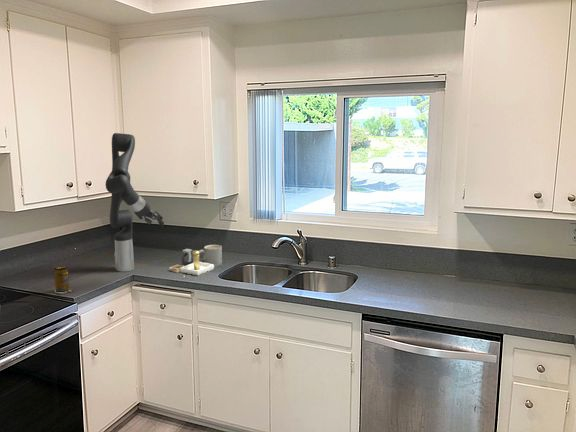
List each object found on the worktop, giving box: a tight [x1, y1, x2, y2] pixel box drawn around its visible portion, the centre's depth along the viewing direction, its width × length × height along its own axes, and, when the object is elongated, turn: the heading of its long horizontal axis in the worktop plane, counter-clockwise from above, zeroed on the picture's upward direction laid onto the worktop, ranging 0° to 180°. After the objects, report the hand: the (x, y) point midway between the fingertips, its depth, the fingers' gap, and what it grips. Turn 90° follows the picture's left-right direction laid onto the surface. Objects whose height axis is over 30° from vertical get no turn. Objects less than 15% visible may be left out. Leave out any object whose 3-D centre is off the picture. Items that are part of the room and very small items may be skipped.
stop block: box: [169, 264, 184, 273], centre depth 254 cm, size 6×6×2 cm
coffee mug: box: [199, 244, 223, 267], centre depth 266 cm, size 13×10×10 cm
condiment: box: [53, 265, 70, 292], centre depth 221 cm, size 7×8×12 cm
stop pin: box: [191, 249, 201, 270], centre depth 252 cm, size 4×4×10 cm
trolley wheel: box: [181, 248, 194, 266], centre depth 261 cm, size 4×7×10 cm, turn 151°
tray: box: [179, 261, 215, 276], centre depth 254 cm, size 12×14×2 cm
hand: (156, 223), depth 237 cm, fingers open, 8 cm apart
